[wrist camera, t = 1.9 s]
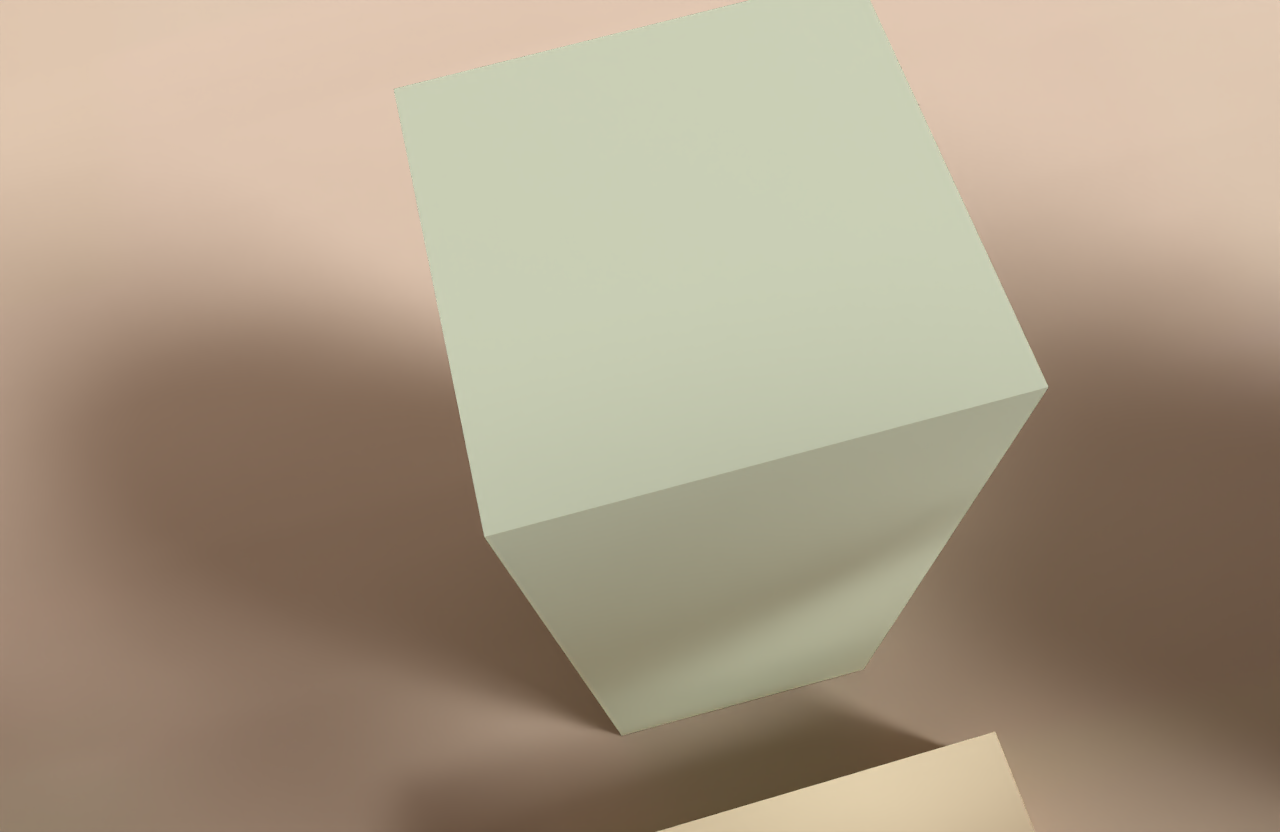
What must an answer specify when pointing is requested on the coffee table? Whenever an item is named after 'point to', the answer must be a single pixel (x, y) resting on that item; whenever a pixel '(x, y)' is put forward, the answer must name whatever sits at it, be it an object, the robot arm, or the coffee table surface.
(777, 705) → the coffee table surface
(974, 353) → the sage block
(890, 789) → the maple slab
